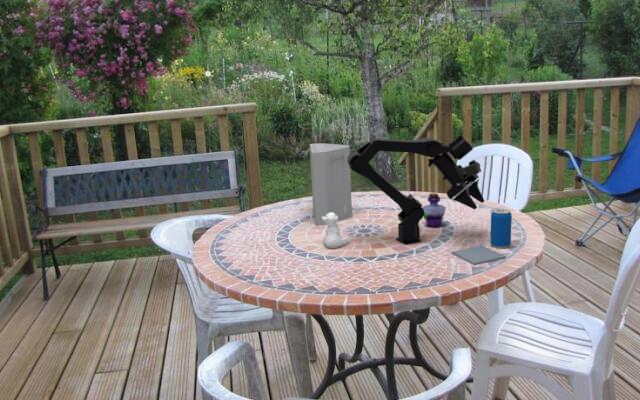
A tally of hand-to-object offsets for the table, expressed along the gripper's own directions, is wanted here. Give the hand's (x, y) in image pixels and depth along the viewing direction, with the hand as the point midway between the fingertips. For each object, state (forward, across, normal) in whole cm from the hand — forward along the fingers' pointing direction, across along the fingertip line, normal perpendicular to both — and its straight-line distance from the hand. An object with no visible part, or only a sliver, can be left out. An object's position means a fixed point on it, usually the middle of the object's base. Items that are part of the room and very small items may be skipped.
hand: (479, 205), depth 210 cm
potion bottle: (-4, +14, +24) cm, 28 cm away
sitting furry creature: (-20, -20, +42) cm, 51 cm away
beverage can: (+15, 0, +4) cm, 15 cm away
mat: (+12, -12, +7) cm, 18 cm away
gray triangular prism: (-31, +11, +53) cm, 63 cm away
